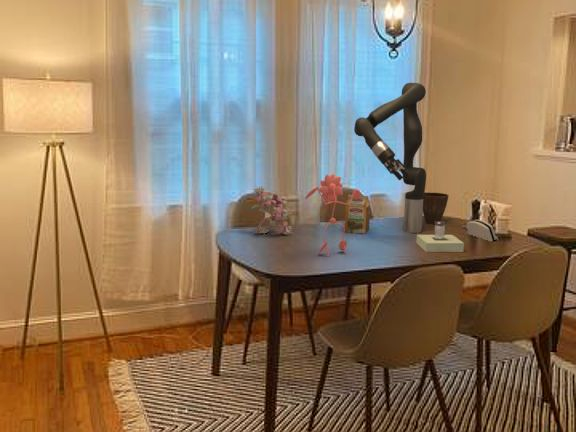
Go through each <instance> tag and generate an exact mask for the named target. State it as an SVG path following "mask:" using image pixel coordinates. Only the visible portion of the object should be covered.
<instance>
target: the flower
mask: <svg viewBox="0 0 576 432" xmlns="http://www.w3.org/2000/svg"><path fill="white" fill-rule="evenodd" d="M265 190H266V189H265V187H263V186H259V187H258V186H255V188H254V189H253V193H254V194H255V197H254V203H261V204H254V205H253V206H252V208H251V209H256V208H259V210H258V212H263V213H262V216H261V219H260V222H259V223H258V226H257V227H256V229H255V230H254V232H253V233H256V234H261V233H267V232H268V233H269V232H270V230H269V229H268V228H270V227H276V226H277V222H278V223H281V222H282V225H283V226H282V225H280V224H278V231H277V233H278V234H282V233H283V234H284V235H285V234H286V235H285V236H288V235H290V233H291V234H292V235H293V234H294V232H291V231H292V229H293V226H291V225H289V226H288V221H286V220H287V219H288V217H290V215H292V214H293V213H292V212H291V211H290V209H289V207H288V206H285V205H287V203H288V198H287V196H284V195H283V193H280V194H279V195H278V194H277V193H271V194H270V193H269V192H268V191H265ZM262 201H263V202H262ZM271 209H272V210H273V212H271ZM270 217H271V218H270ZM284 219H285V220H284ZM265 221H268V222H269V224H268V225H267V226H265V227H262V225H264V223H265ZM268 233H267V234H268ZM287 234H288V235H287Z"/></svg>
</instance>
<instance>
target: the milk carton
mask: <svg viewBox="0 0 576 432" xmlns="http://www.w3.org/2000/svg"><path fill="white" fill-rule="evenodd" d="M351 197H352V194H348V196H347V200H346V204H347V203H348V202H349V200H350V198H351ZM344 217H345V218H344V226H345V231H344V234H349V233H350V235H367V234H368V232H369V231H370V223H371V221H370V220H371V202H370V199H369V195H360V197H359V198H358V199H357V200H356V199H354V198H352V199H351V201H350V202H349V204H348V205H345V215H344Z"/></svg>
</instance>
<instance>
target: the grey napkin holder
mask: <svg viewBox="0 0 576 432" xmlns="http://www.w3.org/2000/svg"><path fill="white" fill-rule="evenodd" d="M466 227H467V234H469V236H471V235H473V237H475V236H476V237H475V238H478V237H479V238H478V239H481V238H482V239H481V240H484V239H485V241H487V240H488V241H487V242H493V241H497V242H498V241H499V237H498V236H496V233H495V230H494V227H493V225H491V224H490V223H488V222H487V221H484V220H482V219H474V220H470V221H468V222H467V223H466Z"/></svg>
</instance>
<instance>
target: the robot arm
mask: <svg viewBox="0 0 576 432" xmlns="http://www.w3.org/2000/svg"><path fill="white" fill-rule="evenodd" d="M426 93H427V91H426V88H425V86H424V85H423V84H422V83H419V82H407V83H405V84H404V85H403V86H402V89H401V95H400V96H398V97H397V98H394V99H393V100H390V101H388V102H386V103H383V104H381V105H380V106H378V107H377V108H376V109H374V110H373V111H372V110H371V112H369V114H368V116H367V117H358V118H357V119H356V121H355V123H354V129H353V131H354V133H355V134H356V136H358V137H363V138H364V142H365V144H366V146H367V147H368V148H369V149H370V150H371V151H372V153H373V155H374V156H375V157H376V158H377V159H378V160H379V161H380V163H381V164H382V165H383V166H384V167H385V169H386V170H387V171H388V172H389V173H390V174H391V175H394V176H395V177H396V178H397V180H398V181H401V180H403V183H404V184H405V185H408V186H414V188H413V189H412V190H411V191H410V190H409V191H407V192H405V194H404V195H405V196H404V211H403V212H404V214H403V232H404V233H410V234H418V233H419V234H420V233H422V231H423V230H422V229H423V216H424V214H423V197H424V193H426V183H427V172H426V169H425V168H423V167H414V159H415V156H416V155H417V152H418V150H419V148H420V147H421V146H422V143H423V125H422V122H421V119H420V117H419V113H418V102H421V101H422V100H423V99H424V98H425V97H426ZM402 110H403V162H402V161H401V160H400V158H397V159H395V156H396V153H395V152H394V151H393V149H392V148H390V146H389V145H388V144H387V143H386V142H385V140H383V139H382V138H381V136H380V135H379V134H378V133H377V131H376V130H375V128H376V127H377V126H378V125H380V124H382V123H383V122H385V121H387V119H389V118H390V117H392V116H394V115H396V114H397V113H399V112H401V111H402Z"/></svg>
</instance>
